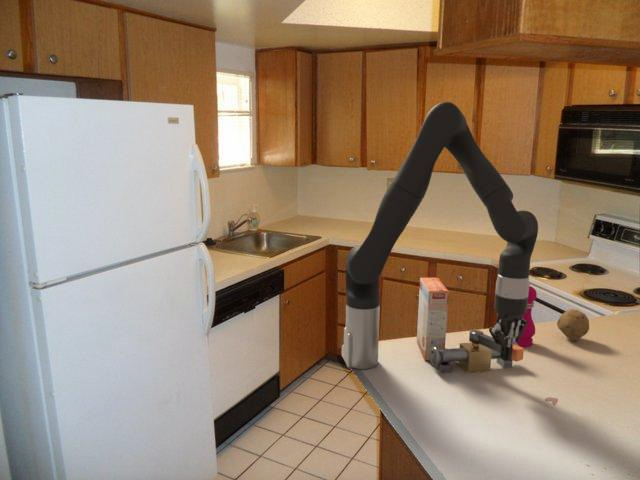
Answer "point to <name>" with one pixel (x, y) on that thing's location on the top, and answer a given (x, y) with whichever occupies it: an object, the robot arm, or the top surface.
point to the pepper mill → (530, 328)
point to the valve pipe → (467, 358)
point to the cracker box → (432, 315)
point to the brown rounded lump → (573, 324)
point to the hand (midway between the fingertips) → (505, 359)
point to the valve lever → (494, 344)
